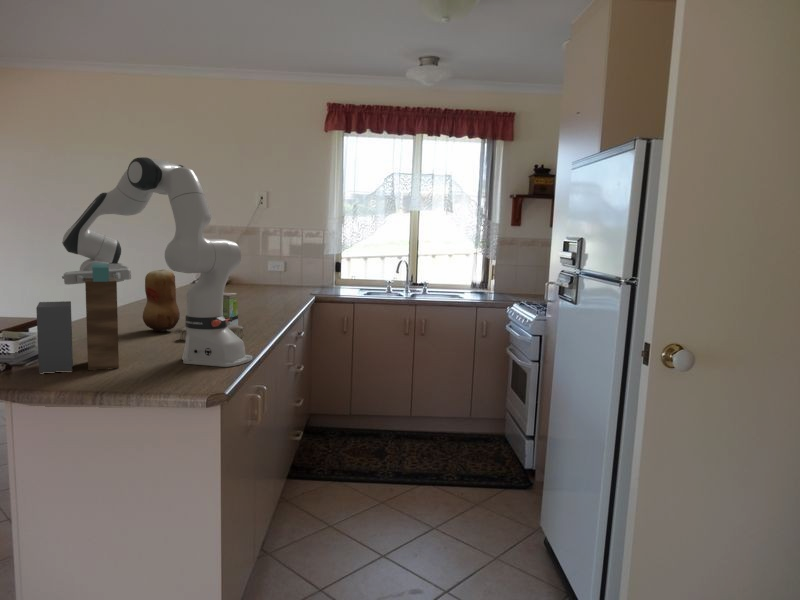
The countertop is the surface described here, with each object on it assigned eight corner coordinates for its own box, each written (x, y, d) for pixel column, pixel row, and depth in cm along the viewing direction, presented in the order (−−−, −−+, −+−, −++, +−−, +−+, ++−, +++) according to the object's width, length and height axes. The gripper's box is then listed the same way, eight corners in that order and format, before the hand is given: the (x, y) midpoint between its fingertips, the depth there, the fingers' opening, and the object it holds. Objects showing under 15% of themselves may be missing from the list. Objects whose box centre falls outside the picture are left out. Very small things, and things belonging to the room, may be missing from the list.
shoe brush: (241, 335, 227) (241, 323, 226) (246, 339, 220) (246, 326, 220) (178, 339, 215) (178, 326, 215) (180, 342, 209) (180, 329, 208)
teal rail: (92, 275, 179) (92, 263, 179) (106, 275, 181) (106, 263, 181) (93, 281, 162) (92, 267, 161) (108, 281, 164) (108, 267, 163)
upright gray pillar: (42, 365, 169) (39, 302, 166) (73, 362, 172) (70, 301, 170) (39, 374, 158) (36, 307, 156) (72, 372, 162) (69, 306, 160)
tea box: (238, 326, 245) (238, 292, 244) (229, 330, 236) (229, 295, 234) (205, 324, 247) (205, 291, 245) (194, 328, 237) (194, 293, 235)
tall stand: (88, 361, 174) (85, 278, 171) (116, 359, 178) (114, 277, 175) (88, 370, 164) (85, 281, 161) (118, 368, 168) (116, 281, 165)
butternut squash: (135, 332, 223) (134, 269, 220) (159, 327, 236) (158, 267, 233) (164, 335, 219) (163, 271, 216) (187, 330, 232) (186, 269, 229)
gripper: (60, 267, 191) (62, 271, 180) (126, 262, 202) (132, 266, 191) (62, 285, 192) (64, 291, 181) (128, 280, 203) (134, 284, 192)
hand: (100, 278), depth 186 cm, fingers open, 8 cm apart
